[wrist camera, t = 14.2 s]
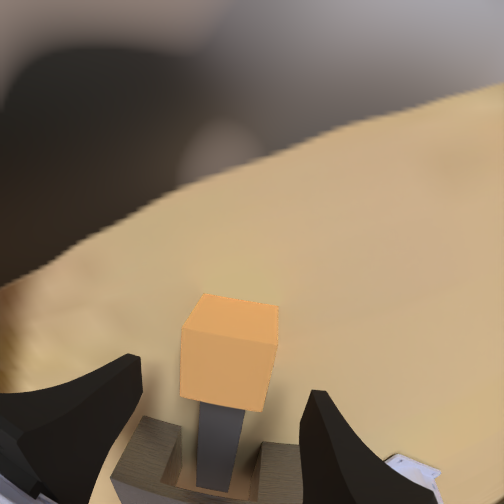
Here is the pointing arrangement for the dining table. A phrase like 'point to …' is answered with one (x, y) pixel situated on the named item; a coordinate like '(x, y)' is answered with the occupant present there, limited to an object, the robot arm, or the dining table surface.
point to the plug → (225, 376)
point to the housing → (170, 463)
